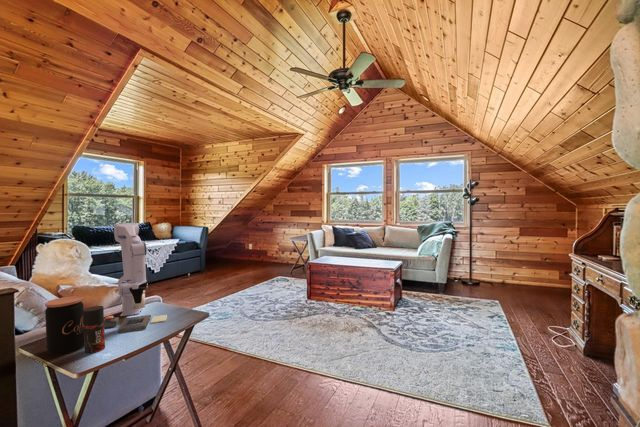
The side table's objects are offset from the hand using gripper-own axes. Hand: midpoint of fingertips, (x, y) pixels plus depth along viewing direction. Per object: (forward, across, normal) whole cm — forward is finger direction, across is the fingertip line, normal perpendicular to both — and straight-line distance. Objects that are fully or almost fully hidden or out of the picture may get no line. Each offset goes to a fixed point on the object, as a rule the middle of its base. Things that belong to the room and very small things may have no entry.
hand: (139, 301), depth 134 cm
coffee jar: (+10, +17, -21) cm, 28 cm away
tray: (+10, -2, +7) cm, 12 cm away
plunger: (+9, -3, -12) cm, 16 cm away
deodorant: (+10, +22, -10) cm, 26 cm away
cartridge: (+2, 0, 0) cm, 3 cm away
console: (+10, -3, -12) cm, 16 cm away
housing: (+10, +1, -2) cm, 10 cm away
